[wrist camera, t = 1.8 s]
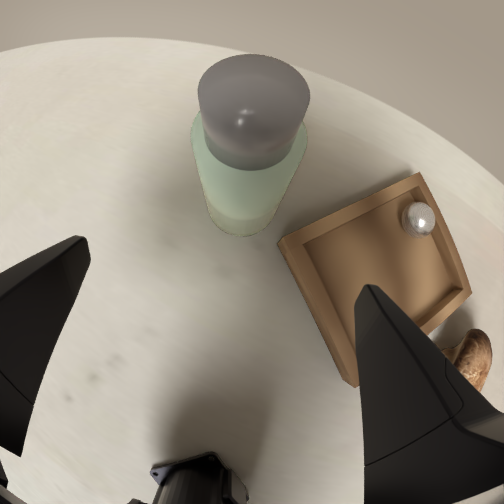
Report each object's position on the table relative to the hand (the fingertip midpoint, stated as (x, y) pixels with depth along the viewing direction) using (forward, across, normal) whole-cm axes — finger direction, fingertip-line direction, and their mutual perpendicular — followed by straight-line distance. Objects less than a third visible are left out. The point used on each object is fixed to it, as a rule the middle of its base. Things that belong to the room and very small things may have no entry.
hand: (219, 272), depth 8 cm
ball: (+13, -14, +3) cm, 20 cm away
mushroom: (+5, -22, +13) cm, 26 cm away
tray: (+11, -12, +7) cm, 18 cm away
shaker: (+13, 0, +4) cm, 14 cm away
